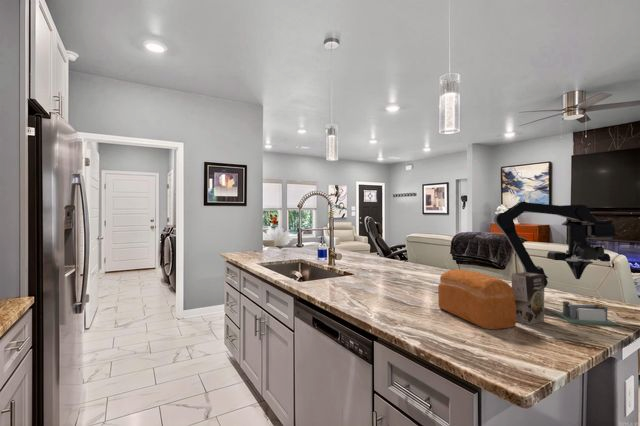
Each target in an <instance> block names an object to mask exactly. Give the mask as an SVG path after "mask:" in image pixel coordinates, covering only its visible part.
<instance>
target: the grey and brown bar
mask: <svg viewBox="0 0 640 426" xmlns="http://www.w3.org/2000/svg"><path fill="white" fill-rule="evenodd" d="M602 305H603V304H602V303H600V302H594V303H593V304H587V305H576V309H578V308H583V309H602ZM566 307H568V308H570V305H568V304H567V305H566Z"/></svg>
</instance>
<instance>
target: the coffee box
mask: <svg viewBox="0 0 640 426" xmlns="http://www.w3.org/2000/svg"><path fill="white" fill-rule="evenodd" d="M545 275H546V274H545ZM545 275H544V274H538V273H529V272H524V271H522V272H516V273H511V287H512V289H513V295H514V297H515V304H516V322H517V323H521V324H525V325H526V326H530V325H534V324H539V323H542V322H545V288H544V276H545Z"/></svg>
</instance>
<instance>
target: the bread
mask: <svg viewBox="0 0 640 426" xmlns="http://www.w3.org/2000/svg"><path fill="white" fill-rule="evenodd" d="M439 278H440V279H439V281H440V282H439V284H438V286H437V287H438V288H437V289H438V298H437V299H438V300H437V301H438V302H437V303H438V307H439V309H441V310H443V311H446V312H447V313H450V314H452V315H455V316H456V317H459V318H461V319H462V320H465V321H467V322H469V323H472V324H473V325H475V326H478V327H480V328H483V329H485V330H498V329H499V330H500V329H506V328H507V329H508V328H512V327H513V328H514V327H515V326H516V324H517V323H516V322H517V321H516V304H515V297H514V295H513V289H512V285H510V284H509V283H508V282H506V281H504V280H502V279H501V278H496V277H494V276H490V275H487V274H485V273H481V272H478V271H477V272H476V271H471V270H466V269H459V268H457V269H450V270H446V271H445V272H443V273H442V274H441V275H440V277H439Z"/></svg>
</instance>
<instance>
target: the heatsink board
mask: <svg viewBox="0 0 640 426" xmlns="http://www.w3.org/2000/svg"><path fill="white" fill-rule="evenodd" d="M567 304H568V305H570V308H568V307H566V305H567ZM576 305H588V304H586V303H585V304H584V303H583V304H581V303H570V302H569V301H567V300H566V301H565V300H564V301H563V302H562V311H555V312H554V314H555V315H556V316H558V317H560V318H562V319H564V320H565V321H567V322H569V323H570V324H579V325H581V324H582V325H599V326H600V325H601V326H603V325H605V326H616V322H615V321H612V320H610V319H608V306H605V305H603V304H602V309H583V308H578V309H576Z"/></svg>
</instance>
